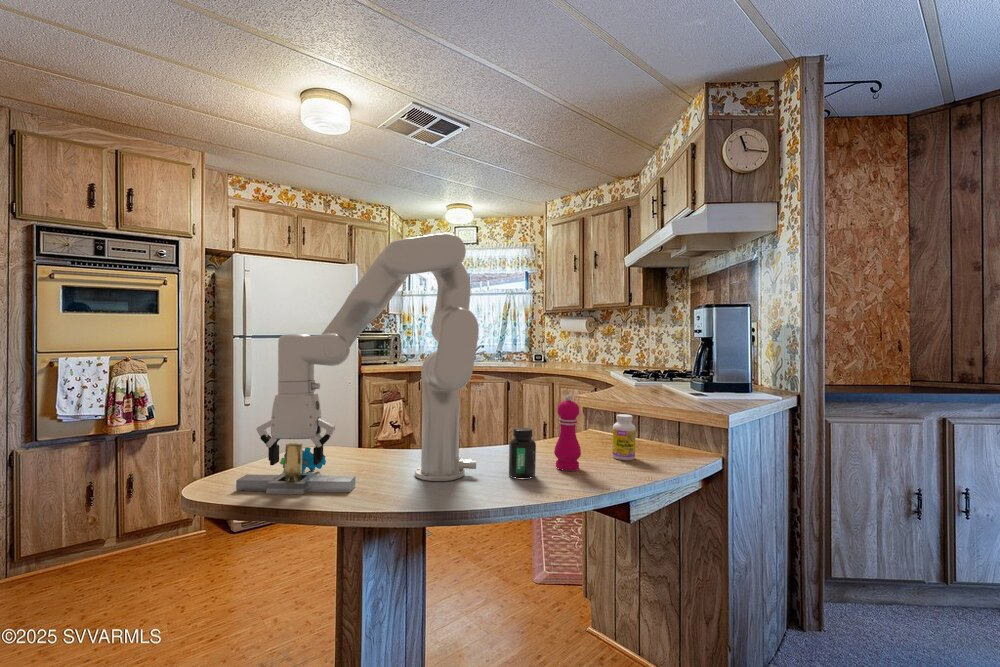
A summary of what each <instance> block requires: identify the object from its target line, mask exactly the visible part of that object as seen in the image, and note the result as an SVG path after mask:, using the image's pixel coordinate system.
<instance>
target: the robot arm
mask: <svg viewBox="0 0 1000 667" xmlns="http://www.w3.org/2000/svg"><path fill="white" fill-rule="evenodd" d="M466 251H467V250H466V245H465V243H464V241H463V240H462V239H461V238H460V237H459V236H458V235H456V234H454V233H450V232H443V233H442V232H441V233H436V234H435V233H433V234H427V235H423V236H421V235H420V236H415V237H407V238H400V239H396V240H393V241H391V242H390V243H388V245H386V246H385V247H384V249H382V251H381V252H380V254H379V255H378V256H377V257H376V258H375V259H374V261H373V263H372V264H371V265H370V267H369V268H368V269H367V271H366V272H365V273H364V275H362V277H361V278H360V280H359V281H358V282H357V284H356V285H355V287H354V288H353V289H352V291H351V292H350V293H349V294H348V296H347V298H346V299H345V300H344V301H345V302H343V304H342V306H341V308H339V310H338V312H336V314H335V316H334V317H333V318H332V319H331V321H330V322H329V323H328V325H327V326H326V327H325V329H324V330H323V331H322V333H321V334H316V335H310V334H304V333H303V334H302V333H301V334H299V333H290V334H282V335H281V336H279V338H278V341H277V354H278V355H277V394H275V396H274V399H273V403H272V410H271V417H270V420H269V421H267V422H265V423H263V424H261V425H259V426H257V427H256V432H257V434H258V435H259V437H260V438H259V439H260V441H262V442H263V443H264V444H265V446H266V448H268V452H267V453H268V457H267V458H268V459H267V460H268V461H269V465H270V466H275V465H276V464H277V463H280V445H279V444H278V443H279V441H280V440H310V441H311V442H312V443H313V444H314V447H313V451H312V452H313V453H312V454H313V464H314V465H318V464H319V463H320V462H321V460H323V455H324V445H325V444H327V442H328V441H329V440H330V439H331V437H332V435H333V434H334V433H335V430H336V426H335V425H334V424H332V423H329V422H327V421H325V420H324V419H322V411H321V403H320V397H319V394H318V393H317V392H315V391H317V390H319V389H321V383H319V382H316V379H315V365H317V366H325V367H326V366H327V367H336V366H339V365H341V364H343V363H344V362H345V361H346V360H347V359H348V357H349V354H350V351H351V346H352V345H353V344H354V342H355V341H356V340H357V338H358V337H359V336H360V334H361V333H362V332H363V331H364V330H365V328H366V327H367V326H369V324H370V323H371V322H373V321H374V320H375V319H376V318H377V317H378V316H380V315H381V313H382V312H384V310H385V309H386V307H387V306H388V305H389V302H390V301H392V299H393V297H394V295H395V294H396V293H397V292H398V290H399V289H400V288H401V286H402V285H403V283H405V280H406V279H407V278H408V277H409V275H415V274H422V273H431V274H432V275H433V276H434V279H435V281H436V282H437V291H436V292H437V293H436V294H437V295H436V302H435V308H434V313H433V317H432V318H433V319H432V323H431V334H432V337H433V339H434V340H435V341H436V342H437V348H436V351H435V350H434V351H433V352H431V353H430V354H428V355H427V356H426V358H424V361H423V363H422V365H421V372H420V373H421V374H420V375H421V376H420V377H421V388H422V389H421V390H422V413H421V414H422V418H421V421H422V422H421V457H420V462H421V463H420V466H419V467H416V469H414V476H415V477H416V478H418V479H419V480H423V481H428V482H448V481H453V480H459V479H461V478H463V477H464V476H465V472H466V469H468V470H476V469H477V461H476V460H473V459H464V458H462V457H461V456H462V455H461V454H460V425H461V422H460V420H461V416H460V414H461V396H460V390H462V389H464V388H465V387H466V386H467V385H468V384H469V382H470V381H471V378H472V375H473V372H474V366H475V359H476V355H477V347H478V340H479V334H480V333H479V330H480V329H479V323H478V320H477V317H476V316H475V314H474V313H473V312H472V311H471V310H469V308H470V302H471V301H470V300H471V299H470V298H471V280H470V277H469V273H468V271H467V269H466V268H465V266H464V264H463V262H464V260H465V257H466V253H467V252H466ZM269 428H270V434H271V436H270V435H269V433H267V429H269ZM322 429H324V430H326V431H325V434H324V435H323V436H322V435H321V434H322V431H323V430H322ZM472 460H473V461H472Z"/></svg>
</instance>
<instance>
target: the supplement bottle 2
mask: <svg viewBox="0 0 1000 667" xmlns="http://www.w3.org/2000/svg"><path fill="white" fill-rule="evenodd" d="M632 421H633V415H631V414H625V413H624V414H623V413H622V414H621V413H619V414H618V413H617V414H616V422H614V424H613V425H612V442H611V443H612V449H611V450H612V451H611V452H612V453H611V455H612V456H611V457H612V458H614V459H616V460H618V461H619V460H620V461H634V459H635V457H636V434H637V433H636V431H637V430H636V426H635V424H633V422H632Z"/></svg>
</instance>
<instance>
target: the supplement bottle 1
mask: <svg viewBox="0 0 1000 667" xmlns="http://www.w3.org/2000/svg"><path fill="white" fill-rule="evenodd" d="M512 436H513V438H511V440H509V445H508V475H510V476H512V477H516V478H530V477H534V478H535V476H536V467H537V466H536V465H537V463H536V462H537V461H536V460H537V444H536V441H535V440H534V439H533V438H532V437H533V429H532V428H530V427H514V428H513V433H512ZM510 476H509V477H510ZM512 477H511V478H512Z"/></svg>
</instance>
